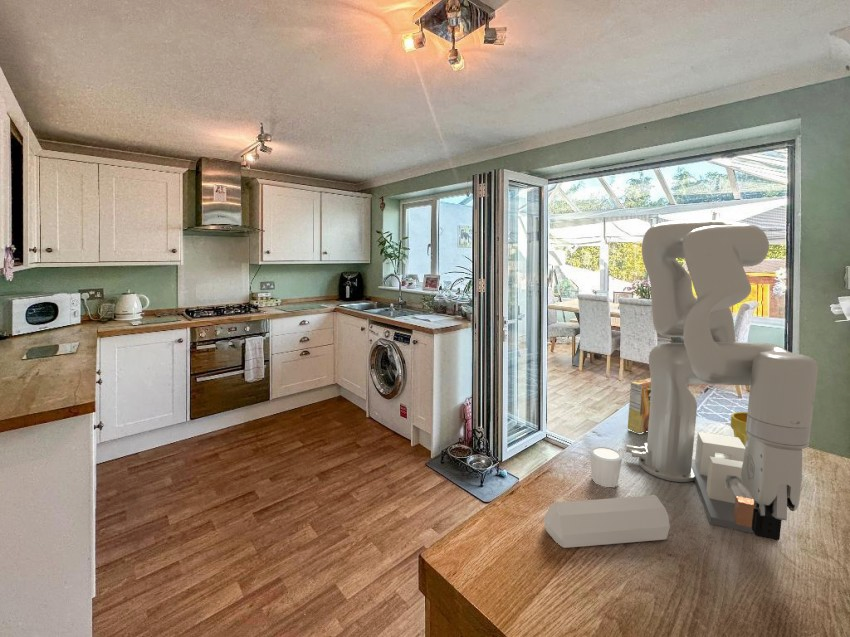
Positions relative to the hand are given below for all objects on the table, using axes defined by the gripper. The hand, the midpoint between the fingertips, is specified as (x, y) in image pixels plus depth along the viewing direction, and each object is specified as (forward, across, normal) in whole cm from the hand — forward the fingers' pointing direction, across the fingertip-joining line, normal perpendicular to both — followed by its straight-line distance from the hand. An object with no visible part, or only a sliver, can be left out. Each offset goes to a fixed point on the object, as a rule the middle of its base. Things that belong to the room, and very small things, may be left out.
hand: (764, 535), depth 65 cm
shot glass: (+6, -18, -24) cm, 31 cm away
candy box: (+5, -52, -14) cm, 54 cm away
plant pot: (+6, -47, +11) cm, 49 cm away
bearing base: (+6, -22, 0) cm, 23 cm away
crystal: (+7, +1, -24) cm, 25 cm away
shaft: (+2, -16, 0) cm, 16 cm away
